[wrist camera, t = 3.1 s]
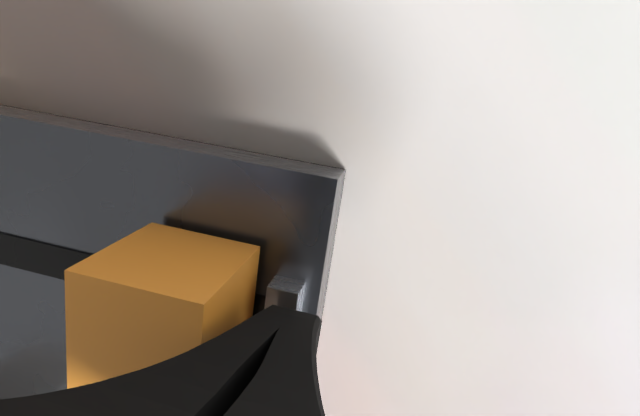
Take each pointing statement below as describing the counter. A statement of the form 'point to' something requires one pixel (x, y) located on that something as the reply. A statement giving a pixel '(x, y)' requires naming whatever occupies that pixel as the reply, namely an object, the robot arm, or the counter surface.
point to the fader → (153, 299)
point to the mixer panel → (141, 222)
